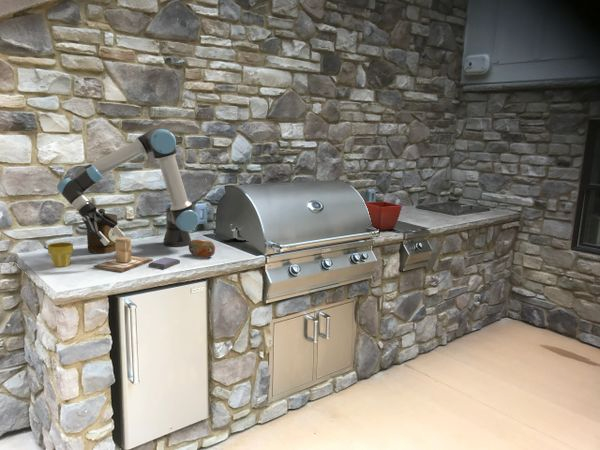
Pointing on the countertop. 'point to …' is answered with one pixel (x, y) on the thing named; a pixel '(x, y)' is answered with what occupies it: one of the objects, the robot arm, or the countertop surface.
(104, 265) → the print board
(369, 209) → the plant pot
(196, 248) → the brown oval lump
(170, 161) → the robot arm
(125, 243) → the wooden block
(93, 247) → the wooden container
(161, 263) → the pad
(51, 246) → the plant pot
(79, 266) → the countertop surface
